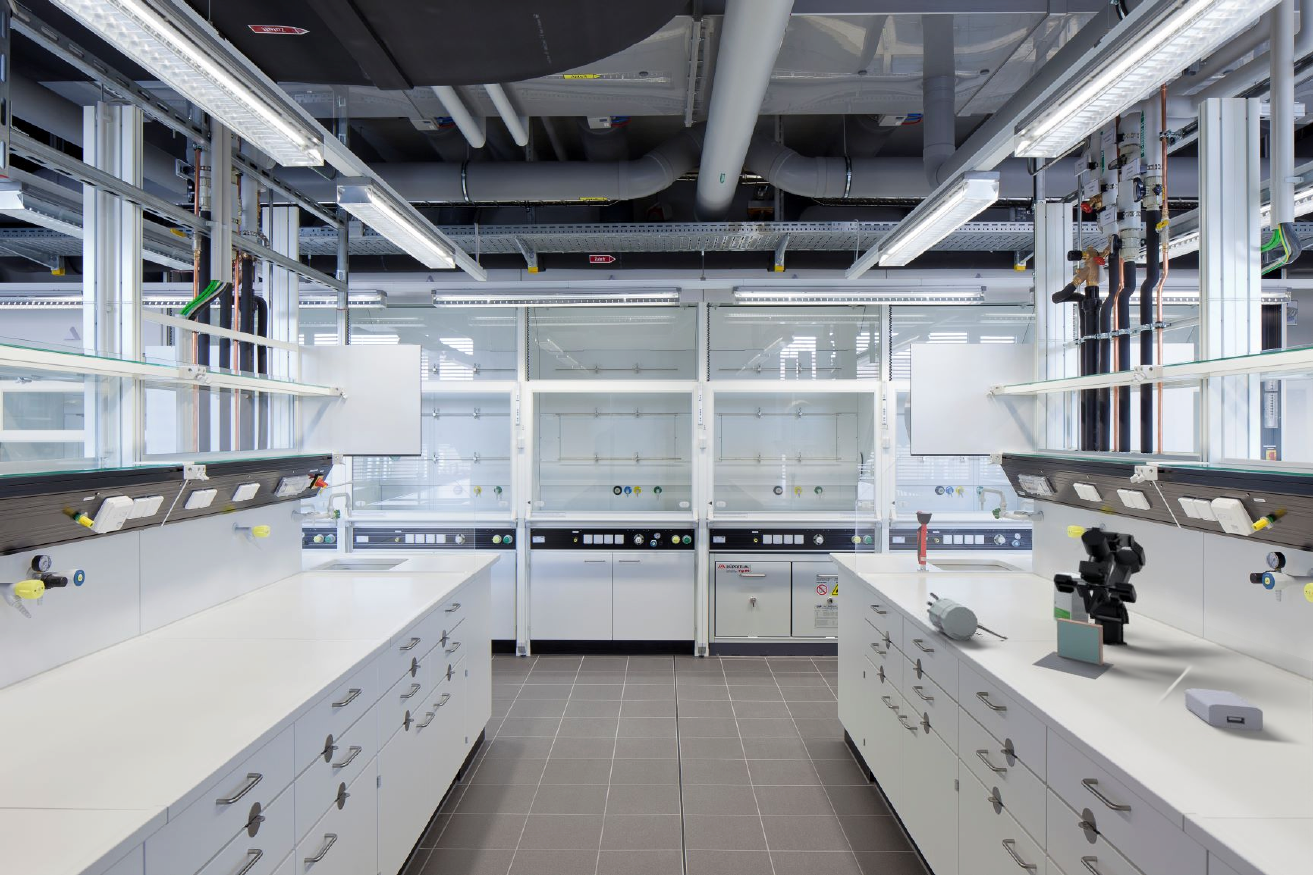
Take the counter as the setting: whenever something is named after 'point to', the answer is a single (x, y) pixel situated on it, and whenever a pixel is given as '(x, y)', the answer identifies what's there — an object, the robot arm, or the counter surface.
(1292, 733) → the counter surface
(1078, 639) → the tile
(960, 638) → the device
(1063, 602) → the skincare box
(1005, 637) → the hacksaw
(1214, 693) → the charger
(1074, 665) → the mat
